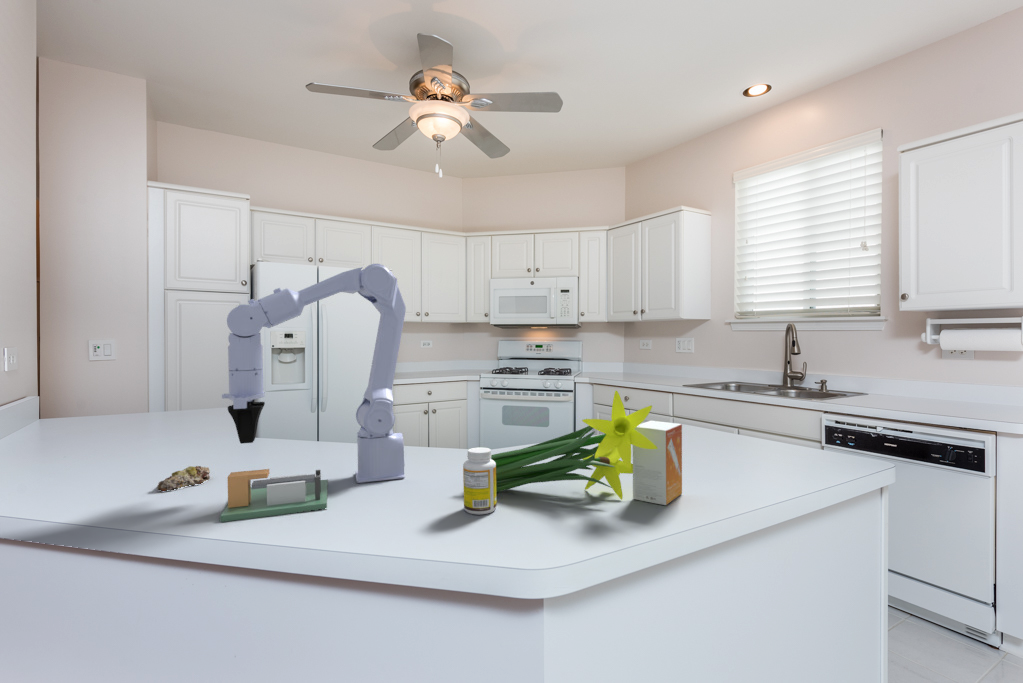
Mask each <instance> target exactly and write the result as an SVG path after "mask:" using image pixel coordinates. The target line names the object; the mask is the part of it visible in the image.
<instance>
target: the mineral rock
mask: <svg viewBox="0 0 1023 683" xmlns="http://www.w3.org/2000/svg"><path fill="white" fill-rule="evenodd" d="M210 472H211V470H210V468H209V467H207V466H201V465H195V466H191V465H190V466H187V467H186V468H184V469H182V470H176V471H174V472H172V473H171V475H170V476H168V477H166V478H165V479H164V480H161V481H158V484H157V486H156V487H157V491H158V490H161V491H166V492H168V491H167V490H174V489H178V488H181V487H185V486H189V485H195V484H201V483H203V482H204V481H206V480H208V481H209V480H210V478H211V477H210ZM203 484H204V483H203ZM201 485H202V484H201ZM161 491H160V492H161Z"/></svg>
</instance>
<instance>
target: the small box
mask: <svg viewBox="0 0 1023 683" xmlns="http://www.w3.org/2000/svg"><path fill="white" fill-rule="evenodd" d="M634 430H636V431H638V432H639V433H640V434H642V435H643V436H645V437H646V438H647V439H649V440H650V441H651V442H652V443H653V444H654V445H655V446H656V447H657V449H645V448H640V447H637V446H634V445H632V464H633V474H632V499H633V500H637V501H642V502H646V503H651V504H654V505H655V504H657V505H663V506H667V505H669V503H672V501H674V500H675V499H676V498H678V497H680V496H681V495H682V494H683V457H682V456H683V448H682V447H683V424H682V423H678V422H677V423H676V422H667V421H657V420H648V421H646V422H642V423H641V424H639V425H638V426H637V427H636V428H635V429H634Z"/></svg>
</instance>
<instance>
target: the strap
mask: <svg viewBox="0 0 1023 683" xmlns="http://www.w3.org/2000/svg"><path fill="white" fill-rule="evenodd" d="M302 475H303V476H294V475H293V476H294V477H284V476H283V477H284V478H275V479H270V478H265V479H260V480H259V479H256V480H253V482H252V483H251V487H252V489H261V488H267V484H277V483H287V482H296V481H305V483H313V482H315V476H320V474H319V473H317V474H316V473H311V474H306V475H304V474H302Z"/></svg>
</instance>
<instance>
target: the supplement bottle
mask: <svg viewBox="0 0 1023 683" xmlns="http://www.w3.org/2000/svg"><path fill="white" fill-rule="evenodd" d="M491 455H492V450H491V448H488V447H478V446H477V447H472V448H469V449H468V450H467V455H466V456H467V460H465V461H464V462H463V464H462V467H463V469H462V473H463V474H462V475H463V476H462V478H463V480H462V481H463V508H464V510H465V512H466V513H468V514H470V515H478V516H479V515H488V514H490V513H493V512H494V511H495V510H496V509H497V505H498V504H497V502H498V501H497V492H496V463H495V461H494V460H492V459H491Z"/></svg>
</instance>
